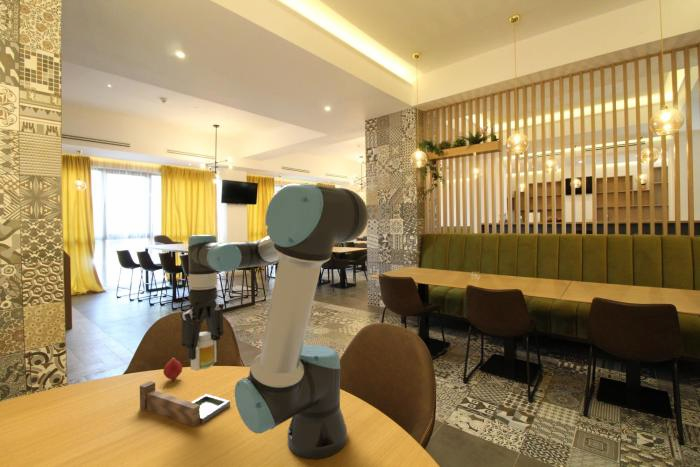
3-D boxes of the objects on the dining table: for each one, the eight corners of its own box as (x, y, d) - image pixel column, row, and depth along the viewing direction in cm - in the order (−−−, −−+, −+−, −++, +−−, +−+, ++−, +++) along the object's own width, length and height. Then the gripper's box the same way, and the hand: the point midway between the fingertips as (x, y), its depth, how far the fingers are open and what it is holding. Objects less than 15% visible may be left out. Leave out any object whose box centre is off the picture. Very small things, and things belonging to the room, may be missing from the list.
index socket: (230, 405, 99) (229, 400, 99) (202, 423, 90) (202, 418, 90) (206, 398, 104) (206, 393, 104) (177, 415, 94) (177, 409, 94)
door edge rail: (201, 421, 91) (201, 396, 91) (192, 428, 88) (191, 402, 88) (150, 403, 101) (150, 381, 100) (140, 408, 98) (139, 385, 98)
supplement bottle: (217, 363, 99) (217, 331, 99) (206, 370, 93) (206, 337, 93) (201, 361, 100) (201, 330, 100) (189, 369, 95) (189, 335, 94)
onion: (159, 383, 114) (159, 360, 114) (171, 375, 119) (171, 354, 119) (174, 384, 113) (174, 361, 113) (185, 376, 118) (185, 355, 118)
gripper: (218, 281, 106) (219, 352, 107) (165, 291, 89) (166, 375, 90) (235, 283, 103) (236, 356, 103) (184, 294, 86) (185, 381, 87)
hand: (203, 365), depth 97 cm, fingers closed on supplement bottle, 5 cm apart
